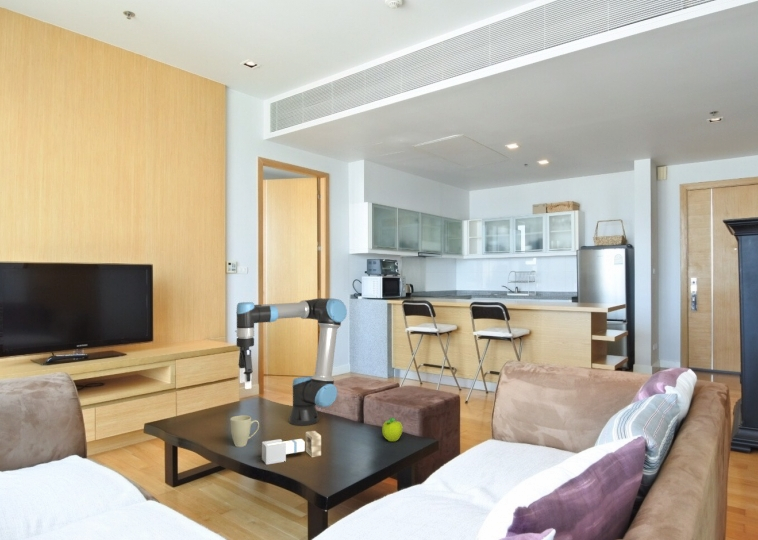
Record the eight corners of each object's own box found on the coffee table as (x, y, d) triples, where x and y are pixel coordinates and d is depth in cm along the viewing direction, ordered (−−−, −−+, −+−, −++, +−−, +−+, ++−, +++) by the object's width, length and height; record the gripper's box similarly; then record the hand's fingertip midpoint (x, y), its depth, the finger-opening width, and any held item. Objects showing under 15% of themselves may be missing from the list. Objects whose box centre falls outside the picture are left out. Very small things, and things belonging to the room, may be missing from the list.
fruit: (379, 442, 221) (379, 420, 221) (386, 436, 229) (386, 415, 230) (398, 445, 218) (398, 422, 218) (404, 438, 226) (404, 417, 227)
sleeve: (280, 455, 204) (281, 438, 204) (285, 461, 198) (285, 443, 198) (261, 459, 200) (261, 441, 200) (266, 464, 194) (266, 446, 194)
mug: (241, 450, 210) (241, 422, 211) (225, 446, 216) (226, 418, 216) (260, 443, 220) (260, 416, 220) (244, 439, 225) (244, 413, 225)
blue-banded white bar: (301, 448, 207) (301, 438, 207) (304, 451, 203) (304, 441, 203) (266, 454, 200) (266, 443, 200) (269, 457, 196) (269, 446, 196)
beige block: (314, 449, 211) (314, 430, 211) (321, 455, 204) (321, 435, 204) (305, 451, 209) (305, 432, 210) (311, 457, 202) (312, 437, 202)
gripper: (232, 334, 225) (232, 381, 224) (241, 340, 202) (241, 392, 202) (248, 334, 228) (248, 379, 228) (259, 339, 205) (259, 390, 205)
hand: (245, 385), depth 215 cm, fingers open, 13 cm apart
